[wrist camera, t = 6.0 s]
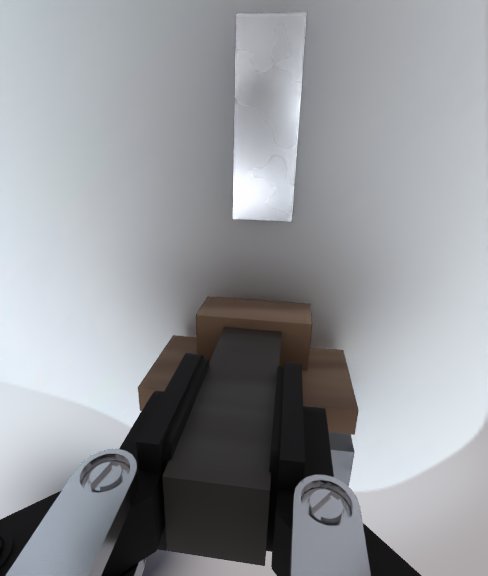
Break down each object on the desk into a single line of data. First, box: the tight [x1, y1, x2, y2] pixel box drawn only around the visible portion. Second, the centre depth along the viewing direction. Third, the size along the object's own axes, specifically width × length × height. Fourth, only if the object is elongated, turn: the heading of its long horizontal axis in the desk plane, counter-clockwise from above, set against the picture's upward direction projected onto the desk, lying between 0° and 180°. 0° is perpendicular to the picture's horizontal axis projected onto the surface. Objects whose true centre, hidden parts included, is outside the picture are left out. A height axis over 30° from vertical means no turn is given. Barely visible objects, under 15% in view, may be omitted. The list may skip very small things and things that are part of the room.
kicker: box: [138, 296, 358, 566], centre depth 12 cm, size 3×8×9 cm, turn 88°
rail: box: [233, 12, 307, 222], centre depth 14 cm, size 7×2×1 cm, turn 179°
